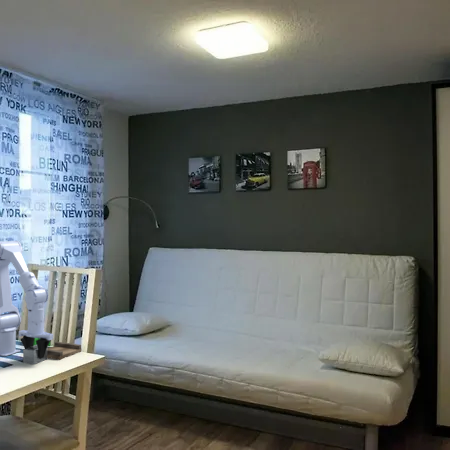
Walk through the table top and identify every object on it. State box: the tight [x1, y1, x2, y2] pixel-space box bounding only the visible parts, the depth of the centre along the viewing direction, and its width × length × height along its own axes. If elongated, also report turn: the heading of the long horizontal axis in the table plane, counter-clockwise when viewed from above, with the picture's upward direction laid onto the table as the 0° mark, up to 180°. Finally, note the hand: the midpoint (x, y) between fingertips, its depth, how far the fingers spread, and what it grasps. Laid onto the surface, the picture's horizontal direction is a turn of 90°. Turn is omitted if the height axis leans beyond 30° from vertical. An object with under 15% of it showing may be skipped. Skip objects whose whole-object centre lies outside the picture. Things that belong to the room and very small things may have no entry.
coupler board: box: [47, 341, 82, 361], centre depth 191 cm, size 12×13×3 cm
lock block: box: [22, 345, 48, 365], centre depth 180 cm, size 5×7×5 cm
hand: (35, 357), depth 180 cm, fingers closed on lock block, 5 cm apart
